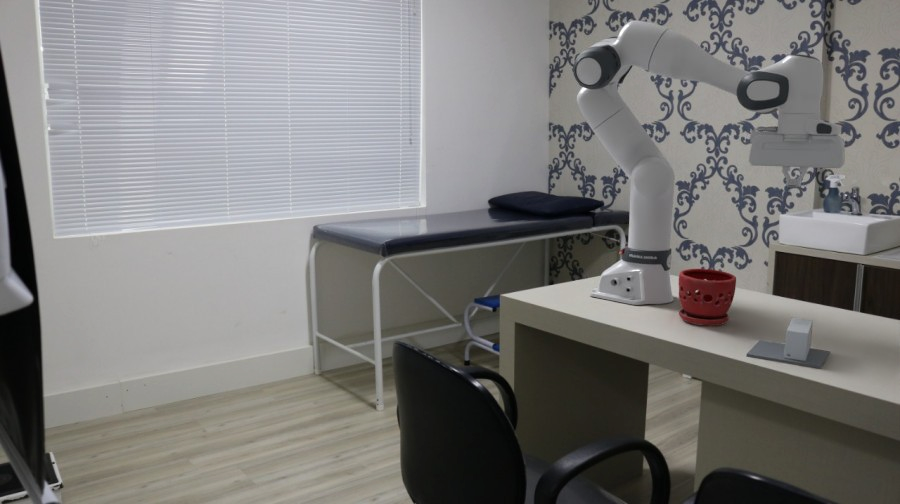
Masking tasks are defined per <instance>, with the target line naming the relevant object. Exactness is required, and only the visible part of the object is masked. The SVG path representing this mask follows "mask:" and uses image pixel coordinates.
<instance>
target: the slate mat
mask: <svg viewBox="0 0 900 504" xmlns="http://www.w3.org/2000/svg"><path fill="white" fill-rule="evenodd" d="M784 350H785V343H781V342H775V341H769V340H768V341H767V340H761V339H760V340H758V341H757V342H756V343H755V345H753V347H751V348H750V349H749V350H748V352H747V353H745V354H746V357H749V358H756V359H761V360H766V361H767V360H768V361H773V362H778V363H785V364H790V363H791V365H796V364H797V365H798V366H802V365H803V366H802V367H809V368H815V369H822V367H823V365H824V364H825V362H826V361H827V358H829V355H830V353H831V351H830V350H825V349H818V348H814V347H813V348H811V347H810V349H809V352H808V355H807V359H806V361H802V360H794V359H787V358H784Z"/></svg>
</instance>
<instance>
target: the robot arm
mask: <svg viewBox="0 0 900 504" xmlns="http://www.w3.org/2000/svg"><path fill="white" fill-rule="evenodd" d="M632 67H637V68H639V69H640V68H641V69H643V70H645V71H648V72H650V73H652V74H655V75H658V76H660V77H664V78H669V79H674V80H680V81H681V80H682V81H692V82H699V83H704V84H707V85H709V86H713V87H715V88H718V89H719V90H721V91H724V92H726V93H729V94H732V95H734V96H736V98H737V101H738V103H739V104H740V105H741V106H742V107H743V108H744V109H746V110H748V111H750V112H752V113H753V112H754V113H756V114H758V115H759V114H760V115H770V114H773V113H776V112H778V118H777V126H758V127H756V128H754V129H753V130H751V132H750V135H749V136H750V138H749V142H750V144H751V146H750V150H749V157H748V162H749V164H750V165H751V166H754V167H755V166H756V167H757V166H758V167H759V166H760V167H781V168H782V169H781V173H782V174H783V175H784V177H785V179H786V183H785V186H786V187H791V188H792V187H793V188H796V187H797V188H800V187H801V186H802V179H803V178H804V177H805V176H806V174H807V173H808V168H815V169H818V168H819V169H820V168H821V169H840V168H842V167H843V166H845V163H846V162H845V161H846V150H845V147H846V146H845V142H844V139H843V138H842V136H840V134H841V132H842V127H841V125H840V124H836V123H832V122H830V121H829V120H822V119H821V106H820V105H821V104H820V103H821V99H822V96H823V92H824V91H823V89H824V67H823V64H822V62H821V61H820V59H818V58H817V57H815V56H812V55H807V54H798V53H797V54H796V53H795V54H794V53H791V54H788V55H786V56H785V57H784V58H782V59H781V60H779V61H777V62H775V63H773V64H771V65H769V66H766V67H764V68H760V69H758V70H754V71H748V70H745V69H742V68H740V67H738V66H735V65H734V64H730V63H727V62H725V61H723V60H721V59H719V58H717V57H715V56H713V55H712V54H710V53H709V52H707V51H706V50H705V49H703V47H701V46H700V45H698V44H697V43H696V42H694V41H693V40H692V39H690V38H689V37H687V36H686V35H684V34H682V33H680V32H678V31H676V30H674V29H671V28H669V27H666V26H663V25H660V24H657V23H653V22H649V21H643V20H636V19H635V20H631V21H628V22H627V23H626V24H625V25H624V26H623V27H622V28H621V29H620V31H619V33H618V35H617V36H610V37H607V38H606V39H602V40H599V41H597V42H595V43H593V45H591V46H589V47H588V48H585V49H584V50H582V52H580V53H579V54H578V55H577V56H576V59H575V61H574V64H573V66H572V68H573V69H572V71H573V76H574V79H575V80H576V82H577V83H578V85H580V86H581V88H580V90H579V92H578V93H577V96H576V103H577V105H578V108H579V110H580V112H581V114H582V116H583V118H584V119H585V121H586V123H587V125H588V127H590V129H591V130H592V131H593V133H594V134H595V136H596V137H597V138H598V139H599V141H600V143H601V144H602V146H603V147H604V148H605V150H606V151H607V153H608V154H609V155H610V156H611V157H612V158H613V160H614V161H615V162H616V164H617V165H618V166H619V168H620V169H621V170H622V171H623V173H624V174H625V175H626V176H627V178H628V179H629V182H630V192H629V194H630V196H629V215H628V216H629V219H628V221H629V224H628V239H627V241H628V242H627V244H628V245H626V246H625V247H624V248H621V250H619V254H618V255H620V257H621V258H620V260H618V261H617V262H615V263H614V264H612V265H611V266H609V267H608V268H606V269H605V270H603V272H602V273H601V275H600V278H599V281H598V285H597V286H596V287H594V288H592V289H591V290H590V291H589V297H594V298H598V299H603V300H607V301H612V302H618V303H619V302H620V303H622V304H623V303H624V304H628V305H634V306H641V305H658V304H659V305H661V304H667V303H672V302H673V301H674V295H673V291H672V285H671V274H670V273H671V269H672V260H673V258H672V257H673V256H672V248H671V235H672V234H671V233H672V217H673V207H674V193H675V191H674V190H675V181H676V180H675V171H674V169H673V167H672V165H671V164H670V162H669V161H668V159H667V158H666V157H665V155H664V154H663V152H662V151H661V150H660V148H659V147H658V145H656V142H654V140H653V139H652V138H651V136H650V135H649V134H648V132H647V130H646V129H645V128H644V127H643V125H642V124H641V122H640V121H639V120H638V119H637V117H636V116H635V113H633V111H632V110H631V108H630V107H629V106H628V104H627V103H626V102H625V101H624V99H623V98H622V96H621V95H620V93H619V90H618V85H619V84H621V83H623V82H624V80H625V78H626V77H627V75H628V74H629V73H630V72H631V69H632ZM791 167H792V168H798V169H799V170H798V172H799V173H800V174H799V175H798V177H797V178H791V175H790V173H789V172H791Z"/></svg>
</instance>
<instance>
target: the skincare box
mask: <svg viewBox="0 0 900 504" xmlns="http://www.w3.org/2000/svg"><path fill="white" fill-rule="evenodd" d="M813 325H814V319H808V318H807V319H806V318H800V317H792V318H791V320H790V323H789V324H788V327H787V329H786V332H785V342H784V344H785V350H784V358H787V359H794V360H802V361H806V359H807V355H808V352H809V349H810V348H811V347H812V346H811V345H812V344H811V343H812V334H813Z"/></svg>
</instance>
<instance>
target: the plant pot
mask: <svg viewBox="0 0 900 504" xmlns="http://www.w3.org/2000/svg"><path fill="white" fill-rule="evenodd" d="M736 286H737V277H736V275H734V274H733V273H730V272H726V271H721V270H717V269H709V268H708V269H707V268H688V269H684V270H683V269H682V270H681V271H680V272H679V274H678V298H679V304H680V306H681V309H679V310H678V315H679V317H680V318H681V319H682V320H683V321H685V322H687V323H689V324H692V325H696V326H697V325H698V326H706V327H709V326H710V327H711V326H712V327H713V326H720V325H723V324H725V323H726V322H728V321H729V317H730V316H729V314H728V312H729V310H730V308H731V306H732V304H733V300H734V297H735V294H736V293H735V292H736Z"/></svg>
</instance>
